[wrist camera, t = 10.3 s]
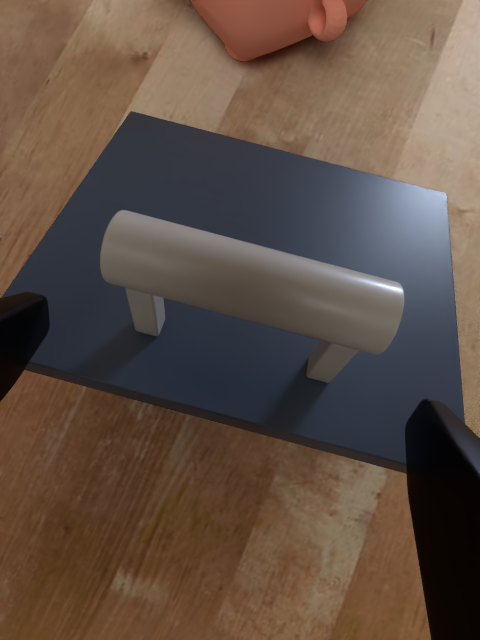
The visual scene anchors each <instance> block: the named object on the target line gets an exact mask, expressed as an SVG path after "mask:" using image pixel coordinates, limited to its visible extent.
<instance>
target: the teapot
mask: <svg viewBox="0 0 480 640" xmlns="http://www.w3.org/2000/svg"><path fill="white" fill-rule="evenodd" d="M190 1H191V3H192V4H193V6H194V7H195V9H196V10H197V11H198V12H199V14H200V15H201V16H202V18H203V19H204V20H205V21H206V23H207V24H208V25H209V26H210V27H211V29H212V30H213V31H214V32H215V33H216V34H217V36H218V37H219V38H220V39H221V40H222V41H223V42H224V43H225V48H226V51H227V53H228V54H229V55H230V56H231V57H232V58H234V59H236V60H239V61H250V60H253V59H254V58H256V57H259V56H262V55H265V54H268V53H271V52H274V51H276V50H279V49H281V48H284V47H286V46H289V45H291V44H294V43H296V42H298V41H301V40H303V39H306V38H308V37H310V36H312V35H313V36H314V37H315V38H317V39H318V40H320V41H324V42H329V41H333V40H335V39H336V38H337V37H339V36H340V35H341V34H342V32H343V31H344V29H345V27H346V24H347V18H348V17H350V16H352V15H353V14H355V13H356V12H357V11H359V10H360V9H361V8H362V6H363V5H364V4H365V3H366V2H367V0H190Z"/></svg>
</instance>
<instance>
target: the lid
mask: <svg viewBox="0 0 480 640" xmlns="http://www.w3.org/2000/svg"><path fill="white" fill-rule="evenodd" d="M23 292H33V293H37V294H41V295H44V296H45V297H46V298H47V300H48V307H49V318H50V328H49V331H48V334H47V335H46V337H45V338H44V340H43V342H42V343H41V345H40V346H39V348H38V349H37V351H36V352H35V354H34V355H33V357H32V358H31V360H30V361H29V363H28V365H27V366H26V368H25V369H24V370H28V371H31V372H35V373H39V374H42V375H46V376H50V377H53V378H57V379H61V380H64V381H68V382H72V383H75V384H79V385H83V386H86V387H90V388H94V389H97V390H101V391H105V392H108V393H112V394H116V395H119V396H123V397H127V398H131V399H134V400H138V401H142V402H145V403H149V404H153V405H156V406H160V407H164V408H167V409H171V410H175V411H178V412H182V413H186V414H189V415H193V416H197V417H200V418H204V419H208V420H211V421H215V422H219V423H223V424H226V425H230V426H234V427H237V428H241V429H245V430H248V431H252V432H256V433H259V434H263V435H267V436H270V437H274V438H278V439H281V440H285V441H289V442H292V443H296V444H300V445H303V446H307V447H311V448H314V449H318V450H322V451H326V452H329V453H333V454H337V455H340V456H344V457H348V458H351V459H355V460H359V461H362V462H366V463H370V464H373V465H377V466H381V467H384V468H388V469H392V470H395V471H399V472H403V473H406V474H407V470H406V449H405V425H406V422H407V420H408V419H409V417H410V416H411V415H412V413H413V412H414V410H415V409H416V407H417V406H418V404H419V403H420V402H421V401H422V400H423V399H431V400H435V401H439V402H442V403H444V404H445V405H446V406H447V407H448V408H449V409H450V410H451V411H452V412H453V413H454V414H455V415H456V416H457V417H458V418H459V419H460V420H461V421H462V422H463V423H464V424H465V419H464V407H463V394H462V382H461V369H460V356H459V344H458V331H457V319H456V306H455V294H454V281H453V268H452V256H451V243H450V231H449V218H448V206H447V194H446V193H442V192H438V191H435V190H431V189H427V188H423V187H419V186H415V185H412V184H408V183H404V182H400V181H396V180H392V179H389V178H385V177H381V176H377V175H373V174H370V173H366V172H362V171H358V170H354V169H350V168H347V167H343V166H339V165H335V164H331V163H327V162H324V161H320V160H316V159H312V158H308V157H304V156H301V155H297V154H293V153H289V152H285V151H282V150H278V149H274V148H270V147H266V146H262V145H259V144H255V143H251V142H247V141H243V140H239V139H236V138H232V137H228V136H224V135H220V134H216V133H213V132H209V131H205V130H201V129H197V128H194V127H190V126H186V125H182V124H178V123H174V122H171V121H167V120H163V119H159V118H155V117H151V116H148V115H144V114H140V113H136V112H132V111H131V112H130V113H129V115H128V116H127V117H126V119H125V120H124V122H123V123H122V125H121V126H120V128H119V129H118V130H117V132H116V133H115V135H114V136H113V138H112V139H111V141H110V142H109V143H108V145H107V146H106V148H105V149H104V151H103V152H102V154H101V155H100V156H99V158H98V159H97V161H96V162H95V164H94V165H93V167H92V168H91V169H90V171H89V172H88V174H87V175H86V177H85V178H84V180H83V181H82V182H81V184H80V185H79V187H78V188H77V190H76V191H75V192H74V194H73V195H72V197H71V198H70V200H69V201H68V203H67V204H66V205H65V207H64V208H63V210H62V211H61V213H60V214H59V216H58V217H57V218H56V220H55V221H54V223H53V224H52V226H51V227H50V229H49V230H48V231H47V233H46V234H45V236H44V237H43V239H42V240H41V242H40V243H39V244H38V246H37V247H36V249H35V250H34V252H33V253H32V255H31V256H30V257H29V259H28V260H27V262H26V263H25V265H24V266H23V267H22V269H21V270H20V272H19V273H18V275H17V276H16V278H15V279H14V280H13V282H12V283H11V285H10V286H9V288H8V289H7V291H6V292H5V293H4V295H3V296H2V298H3V297H7V296H11V295H15V294H19V293H23Z"/></svg>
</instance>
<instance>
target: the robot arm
mask: <svg viewBox="0 0 480 640" xmlns="http://www.w3.org/2000/svg"><path fill="white" fill-rule="evenodd" d="M49 328H50V318H49V307H48V300H47V298H46V297H45V296H44V295H41V294H37V293H33V292H23V293H19V294H15V295H11V296H7V297H3V298H0V401H1V400H2V399H3V398H4V397H5V395H6V394H7V393H8V392H9V390H10V389H11V388H12V387H13V385H14V384H15V382H16V381H17V380H18V378H19V377H20V375H21V374H22V372H23V371H24V369H25V368H26V366H27V365H28V363H29V361H30V360H31V358H32V357H33V355H34V354H35V352H36V351H37V349H38V348H39V346H40V345H41V343H42V342H43V340H44V338H45V337H46V335H47V334H48V331H49ZM405 449H406V470H407V487H408V497H409V504H410V510H411V516H412V523H413V529H414V535H415V541H416V547H417V554H418V560H419V566H420V572H421V579H422V585H423V591H424V597H425V603H426V610H427V616H428V622H429V628H430V634H431V640H480V438H479V437H478V436H477V435H476V434H475V433H474V432H473V431H472V430H471V429H470V428H469V427H468V426H466V425H465V424H464V423H463V422H462V421H461V420H460V419H459V418H458V417H457V416H456V415H455V414H454V413H453V412H452V411H451V410H450V409H449V408H448V407H447V406H446V405H445V404H444V403H442V402H439V401H435V400H431V399H423V400H422V401H421V402H420V403H419V404H418V406H417V407H416V409H415V410H414V412H413V413H412V415H411V416H410V417H409V419H408V420H407V422H406V425H405Z"/></svg>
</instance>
